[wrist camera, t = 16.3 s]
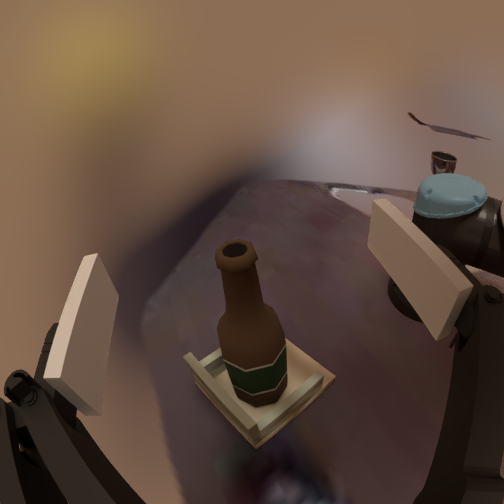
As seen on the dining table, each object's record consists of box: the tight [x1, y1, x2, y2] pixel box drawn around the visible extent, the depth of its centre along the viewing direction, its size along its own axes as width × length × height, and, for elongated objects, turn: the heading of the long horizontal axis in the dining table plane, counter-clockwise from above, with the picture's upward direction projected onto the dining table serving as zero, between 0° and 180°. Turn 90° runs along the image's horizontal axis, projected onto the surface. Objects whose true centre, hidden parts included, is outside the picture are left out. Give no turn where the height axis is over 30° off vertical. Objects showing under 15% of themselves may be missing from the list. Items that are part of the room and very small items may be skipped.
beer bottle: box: [215, 239, 288, 407], centre depth 32 cm, size 8×8×24 cm
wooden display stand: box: [183, 338, 336, 449], centre depth 38 cm, size 15×14×8 cm
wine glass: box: [431, 151, 457, 175], centre depth 72 cm, size 8×8×15 cm
